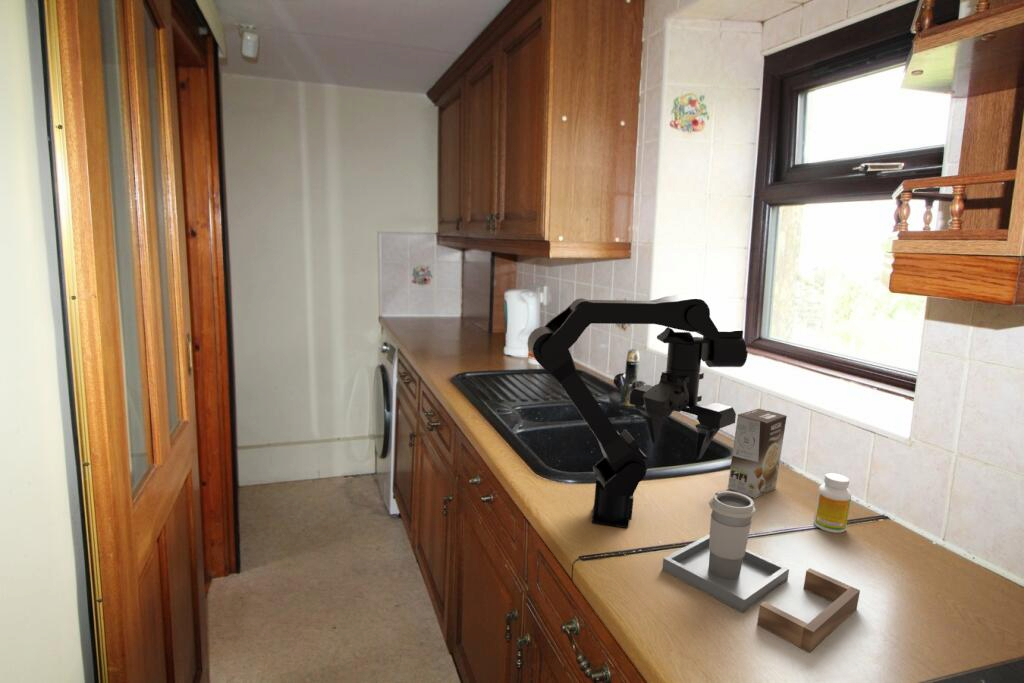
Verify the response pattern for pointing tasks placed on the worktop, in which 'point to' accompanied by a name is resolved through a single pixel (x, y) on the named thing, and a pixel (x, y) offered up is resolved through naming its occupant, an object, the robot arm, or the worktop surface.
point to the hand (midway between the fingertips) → (676, 451)
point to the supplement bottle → (833, 503)
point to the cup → (729, 532)
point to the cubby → (822, 624)
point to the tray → (738, 593)
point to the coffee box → (756, 452)
